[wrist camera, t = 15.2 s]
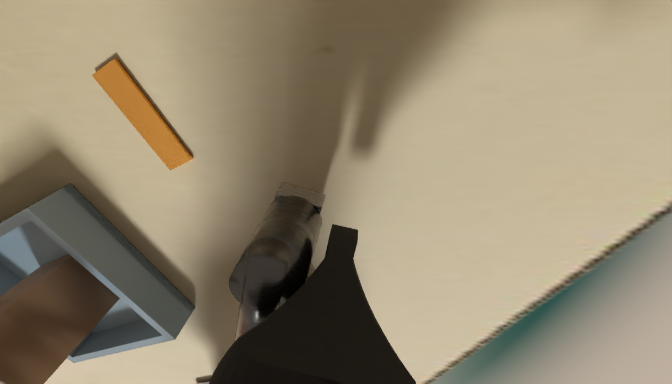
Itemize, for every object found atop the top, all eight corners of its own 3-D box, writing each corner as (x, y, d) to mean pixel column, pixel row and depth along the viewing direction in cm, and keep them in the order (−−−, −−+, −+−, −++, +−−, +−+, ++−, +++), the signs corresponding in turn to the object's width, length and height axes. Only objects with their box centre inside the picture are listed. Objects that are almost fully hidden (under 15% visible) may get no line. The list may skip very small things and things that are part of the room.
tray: (195, 307, 22) (175, 339, 20) (98, 333, 26) (73, 362, 24) (69, 183, 18) (27, 208, 15) (-26, 237, 21) (-70, 263, 19)
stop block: (128, 288, 21) (30, 398, 15) (85, 303, 23) (-19, 407, 17) (83, 247, 20) (-47, 352, 14) (39, 266, 21) (-93, 367, 15)
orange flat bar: (327, 303, 20) (324, 320, 19) (272, 316, 22) (266, 332, 20) (138, 42, 13) (115, 46, 12) (76, 88, 14) (51, 95, 13)
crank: (295, 331, 19) (263, 447, 14) (246, 317, 19) (197, 429, 14) (345, 176, 13) (321, 284, 8) (273, 155, 13) (203, 251, 8)
